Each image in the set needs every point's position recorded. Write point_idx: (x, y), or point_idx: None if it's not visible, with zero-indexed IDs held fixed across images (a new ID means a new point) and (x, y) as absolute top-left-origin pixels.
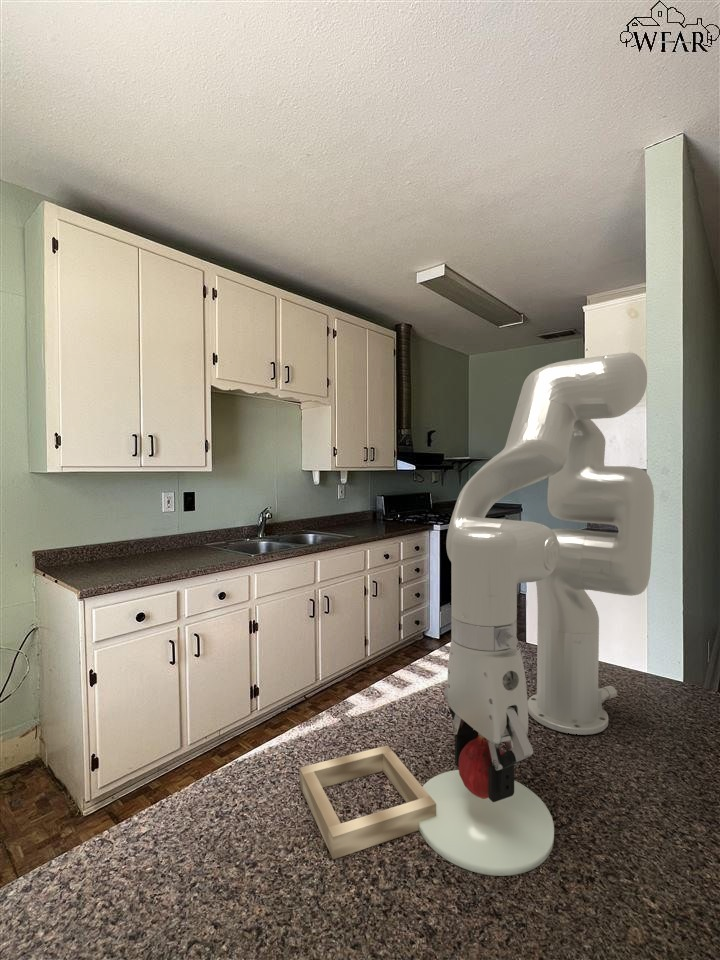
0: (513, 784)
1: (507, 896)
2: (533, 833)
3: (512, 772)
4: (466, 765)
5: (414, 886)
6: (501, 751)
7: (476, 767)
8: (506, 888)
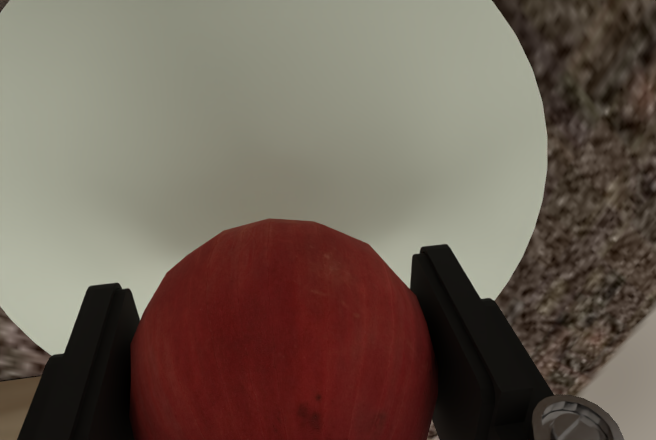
0: (463, 276)
1: (545, 281)
2: (460, 106)
3: (546, 385)
4: None
5: None
6: (357, 378)
7: None
8: (527, 272)
